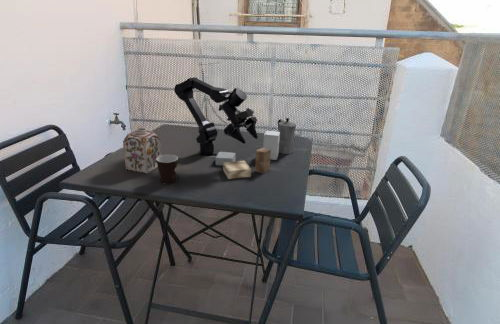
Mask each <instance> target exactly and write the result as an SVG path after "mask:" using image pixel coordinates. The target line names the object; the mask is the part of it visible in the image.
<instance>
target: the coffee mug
mask: <svg viewBox="0 0 500 324" xmlns="http://www.w3.org/2000/svg"><path fill="white" fill-rule="evenodd" d="M156 161H157V165H158V167H157V168H158V174H159V181H160V183H161V182H162V183H161V184H163V183H165V184H164V185H172V184H175V183H176V182H177V180H178V177H177V176H178V165H179V164H178V163H179V157H178V156H177V155H175V154H162V156H159V157H157V158H156ZM174 182H175V183H174ZM171 183H172V184H171Z"/></svg>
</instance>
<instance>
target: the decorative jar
mask: <svg viewBox="0 0 500 324" xmlns="http://www.w3.org/2000/svg"><path fill="white" fill-rule="evenodd" d="M122 145H123V156H124V164H125V169H126V170H127V169H128V170H127V171H131V170H132V171H133V172H136V171H137V173H142V172H143V173H142V174H149V173H151V172H152V171H154V170H156V169H157V168H158V165H157V161H156V158H157V157H159V156H162V155H163V154H162V145H161V137H160V136H159V135H158V134H157V133H156V132H154V131H153V130H147V128H145V127H139V128H135V129H134V130H133V131H131V132H128V133H127V134H126V136H125V138H124V139H123V141H122Z"/></svg>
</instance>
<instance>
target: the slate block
mask: <svg viewBox="0 0 500 324" xmlns="http://www.w3.org/2000/svg"><path fill="white" fill-rule="evenodd" d="M236 154H237V153H236V152H228V151H218V153H217V154H216V156H215V165H216V166H223V162H234V161H236V156H237V155H236Z"/></svg>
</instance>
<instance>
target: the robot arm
mask: <svg viewBox="0 0 500 324" xmlns="http://www.w3.org/2000/svg"><path fill="white" fill-rule="evenodd" d="M173 89H174V93H175V95H176V96H177V98H178V99H179V100H181V101H183V102H184V103H185V105H186V107H187V108H188V110H189V112H190V114H191V116H192V117H193V119H194V120H195V123H196V124H197V126H198V133H199V135H198V136H197V137H196V138H195V139H196V140H195V141H196V143H198V144H199V155H200V156H213V155H214V153H215V145H214V141H216V138H217V137H218V134H219V133H218V130H217V129H218V128H217V127H216V125H215V123H214V122H213V121H211V122H209V121H208V120H207V118H206V117H205V115H204V113H203V111H202V110H201V108H200V106H199V105H198V103H197V100H196V99H195V98H194V89H196V90H198V91H199V92H202V93H203V94H205V95H208V97H209V98H210V99H211V100H212V101H213V102H215V103H216V104H219V107H218V111H219V112H220V111H223V113H225V115H226V117H227V118H226V120H227V121H229V122H230V123H229V124H227V125H226V126H225V128H224V129H223V134H224V135H225V136H228V137H231V138H233V139H235V140H236V141H239V142H240V143H241V144H246V139H245V138H244V136H243V134H242V133H241V128H245V131H247V133H249V134H250V135H251V137H252V138H254V139H255V140H257V139H258V133H257V130H256V124H257V122H258V118H257V116H254V113H255V112H254V111H255V110H254V109H253V108H252V107H251V106H250V107H248V108H246V110H243V111H242V110H239V109H238V108H239V107H240V106H241V105H242V104H243V103H244V102H245V101H246V100H247V98H248V96H247V95H248V94H247V93H246V92H245V91H243V90H242V89H241V88H239V87H235V88H233V90H232V91H231V92H230V91H229V90H228V89H226V88H223V87H216V86H213V85H211V84H209V83H207V82H205V81H203V80H201V79H199V78H198V77H195V76H194V77H188V78H187V79H185V80H184V81H182V82H180V83H176V85H174V88H173ZM220 103H221V104H220Z"/></svg>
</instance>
